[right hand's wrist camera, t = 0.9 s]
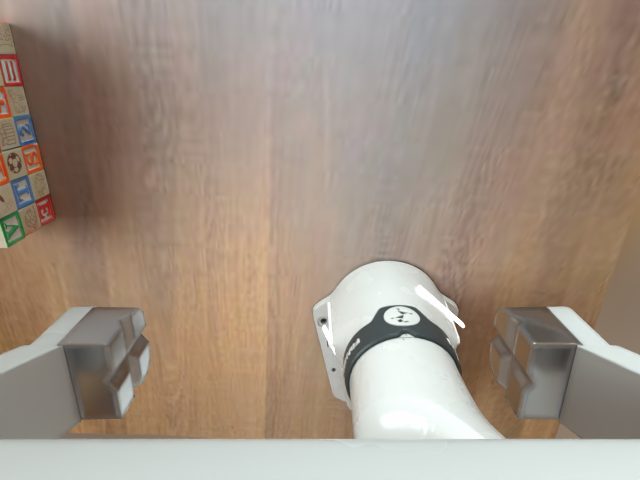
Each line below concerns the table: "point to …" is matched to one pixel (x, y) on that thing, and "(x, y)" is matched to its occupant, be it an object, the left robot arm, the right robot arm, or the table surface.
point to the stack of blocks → (18, 155)
